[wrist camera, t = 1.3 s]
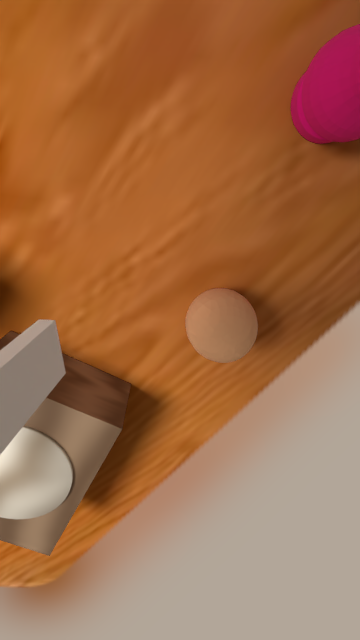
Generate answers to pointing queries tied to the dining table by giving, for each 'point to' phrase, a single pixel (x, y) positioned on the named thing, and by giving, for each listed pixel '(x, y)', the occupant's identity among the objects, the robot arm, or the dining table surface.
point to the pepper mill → (330, 92)
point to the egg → (221, 325)
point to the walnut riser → (58, 454)
